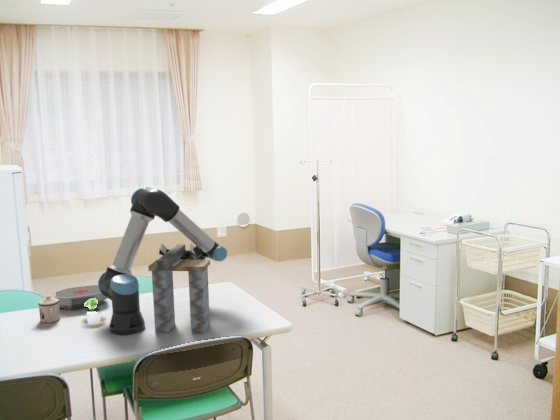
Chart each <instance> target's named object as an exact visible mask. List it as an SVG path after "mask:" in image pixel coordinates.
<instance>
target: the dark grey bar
mask: <svg viewBox="0 0 560 420" xmlns="http://www.w3.org/2000/svg"><path fill="white" fill-rule="evenodd" d="M185 250H186V244H176V245H174V246H173V247H172V248H171V249H169V251H168V252H167V253H166V254H164V255H161V256H160V257H159V258H158V260H157V259H156V260H157V270H167V269H168V268H170V267H171V266H172V265H173V264H174V263H175V262H176V261H177V260H178V259H179V258H181V257H182V256H183V255H184V254H185V253H186V251H185Z"/></svg>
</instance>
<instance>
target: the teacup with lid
mask: <svg viewBox="0 0 560 420" xmlns="http://www.w3.org/2000/svg"><path fill="white" fill-rule="evenodd" d="M37 304H38V309H39V310H38V311H39V321H40V322H41V323H43V324H48V323H49V322H51V323H54V322H58V321H59V320H60V318H61V312H60V306H59V300H58V299H57V298H55V297H51V295H49V294H48V295H46V296H45V298H43V299H41V300H39V301H38V302H37ZM49 324H50V323H49Z"/></svg>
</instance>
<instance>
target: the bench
mask: <svg viewBox="0 0 560 420" xmlns="http://www.w3.org/2000/svg"><path fill="white" fill-rule="evenodd" d="M158 259H159V258H158ZM158 259H156V260H155V261H153V262H152V263H151V264H150V265H148V272H151V280H152V281H151V282H152V283H151V284H152V298H153V314H154V315H153V317H154V330H155V331H154V333H156V334H157V333H160V334H161V333H163V334H168V333H170V332H171V330H172V329H173V328H174V327H175V326H176V318H175V317H176V315H175V312H176V311H175V298H174V297H175V295H174V275H173V274H174V273H173V272H188V291H189V292H188V293H189V296H188V297H189V314H190V315H189V316H190V333H191V334H206V332H207V330H208V329H209V327H210V326H211V325H210V324H211V319H210V299H209V298H210V297H209V294H210V293H209V273H208V272H209V270H208V268H209V266H210V265H211V259H205V260H185V259H178V260H177V261H176V262H175V263H174V264H173V265H172V266H171V267H170V268H168V269H167V270H157V260H158Z"/></svg>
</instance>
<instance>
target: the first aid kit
mask: <svg viewBox="0 0 560 420" xmlns="http://www.w3.org/2000/svg"><path fill="white" fill-rule="evenodd" d="M54 298H57V299H58V300H59V308H60V307H61V308H62V309H66V310H68V309H72V310H77V309H81V308H83V307H84V303H85V302H86V301H87V300H88V299H90V298H96V299H97V300H98V305H100V304H101V303H102V302H104V301H106V300H107V299H108V298H107V297H105V296H104V295H103V294H102V293H101V292H100V290H99V288H98V284H89V285H83V286H82V285H81V286H73V287H67V288H63V289H60V290H57V291H54ZM76 308H77V309H76ZM84 308H85V307H84Z"/></svg>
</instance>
